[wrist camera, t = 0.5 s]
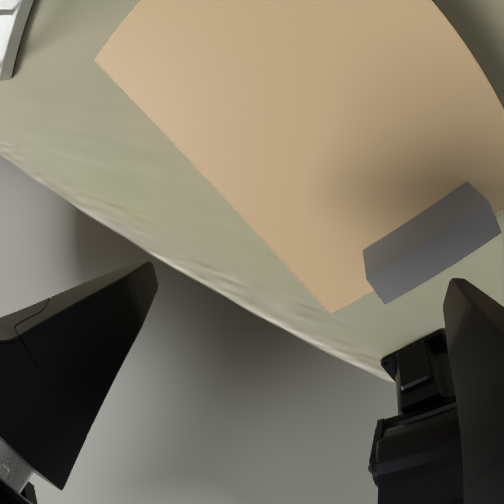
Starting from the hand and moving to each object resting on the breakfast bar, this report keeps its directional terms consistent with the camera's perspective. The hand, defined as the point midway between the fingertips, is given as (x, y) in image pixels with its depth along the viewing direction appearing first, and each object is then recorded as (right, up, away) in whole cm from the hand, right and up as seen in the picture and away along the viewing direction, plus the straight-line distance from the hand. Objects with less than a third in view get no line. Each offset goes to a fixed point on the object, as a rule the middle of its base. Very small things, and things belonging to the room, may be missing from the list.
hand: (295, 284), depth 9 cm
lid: (+2, +8, +3) cm, 8 cm away
